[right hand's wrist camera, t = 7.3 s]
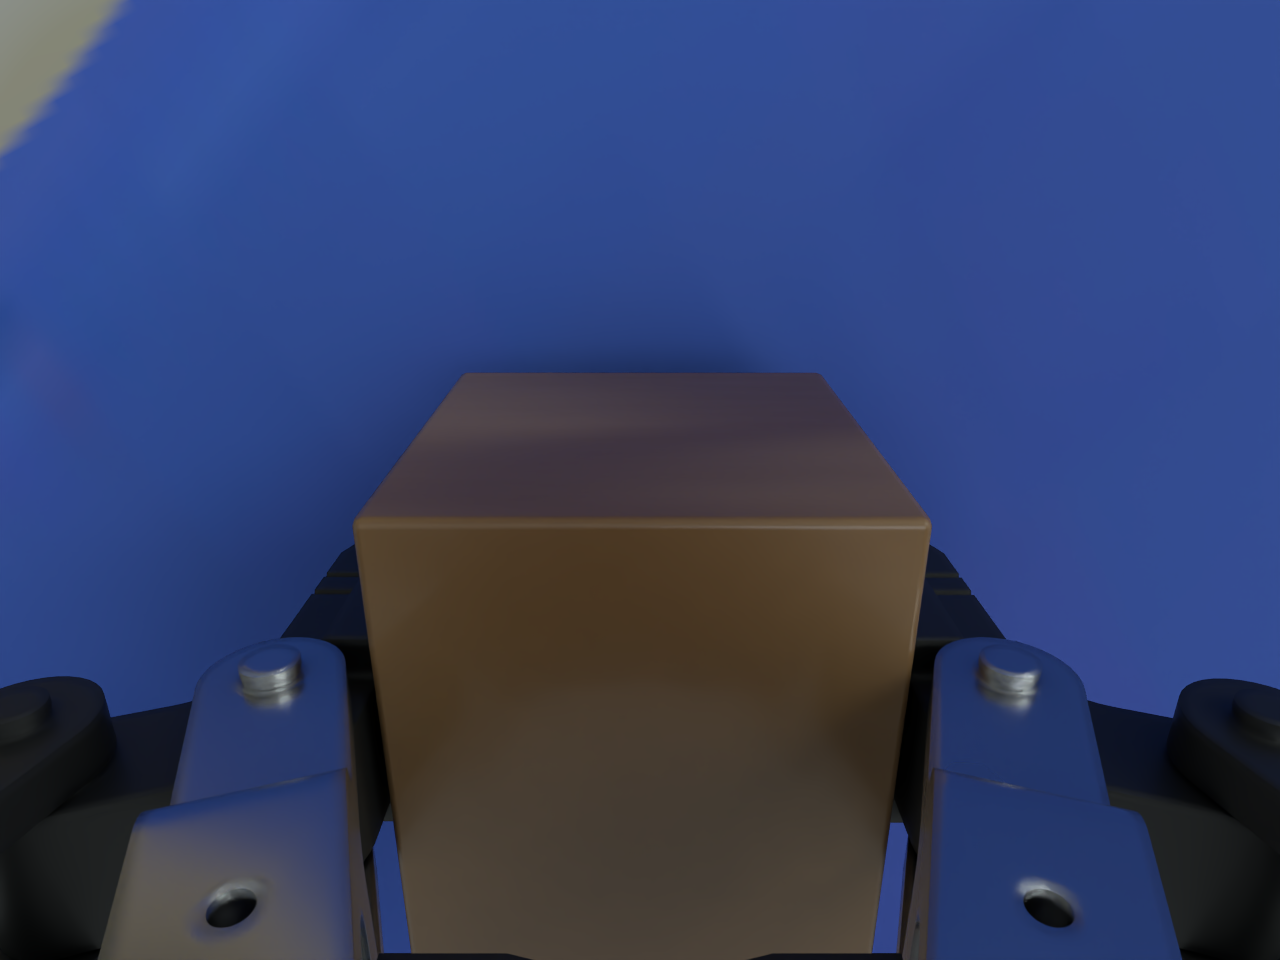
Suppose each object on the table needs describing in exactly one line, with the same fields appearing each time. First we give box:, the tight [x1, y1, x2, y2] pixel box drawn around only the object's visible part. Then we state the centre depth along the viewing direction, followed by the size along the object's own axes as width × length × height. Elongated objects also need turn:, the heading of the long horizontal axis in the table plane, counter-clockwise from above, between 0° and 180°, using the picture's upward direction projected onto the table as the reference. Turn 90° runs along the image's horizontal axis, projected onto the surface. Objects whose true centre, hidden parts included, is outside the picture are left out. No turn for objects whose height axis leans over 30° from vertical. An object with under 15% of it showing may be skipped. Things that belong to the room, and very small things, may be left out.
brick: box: [352, 373, 932, 960], centre depth 10 cm, size 5×5×5 cm
